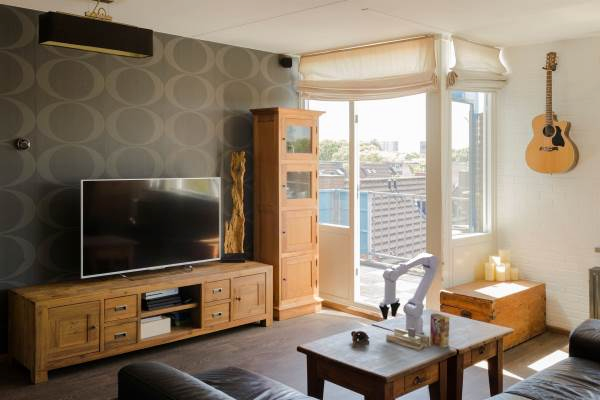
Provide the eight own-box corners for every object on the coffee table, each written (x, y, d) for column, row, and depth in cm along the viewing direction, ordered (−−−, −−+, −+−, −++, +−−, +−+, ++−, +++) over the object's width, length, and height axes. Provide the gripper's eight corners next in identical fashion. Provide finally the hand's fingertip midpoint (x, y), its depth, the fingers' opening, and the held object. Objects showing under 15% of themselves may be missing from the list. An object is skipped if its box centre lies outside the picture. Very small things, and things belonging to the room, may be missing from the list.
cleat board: (396, 336, 305) (396, 328, 304) (429, 345, 291) (429, 336, 290) (386, 340, 298) (386, 331, 298) (419, 349, 284) (419, 340, 284)
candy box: (449, 346, 290) (450, 316, 288) (443, 348, 287) (444, 318, 286) (434, 341, 297) (435, 312, 295) (429, 343, 294) (430, 314, 293)
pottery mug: (374, 346, 291) (372, 334, 287) (361, 357, 287) (359, 346, 282) (357, 334, 300) (355, 323, 295) (344, 345, 295) (342, 334, 291)
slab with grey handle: (407, 339, 297) (407, 326, 296) (420, 342, 292) (421, 329, 291) (402, 341, 294) (402, 328, 293) (416, 345, 288) (416, 331, 288)
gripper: (392, 288, 310) (391, 313, 311) (375, 293, 299) (374, 318, 300) (403, 291, 305) (402, 316, 306) (386, 295, 294) (385, 321, 295)
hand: (389, 317), depth 303 cm, fingers open, 7 cm apart
